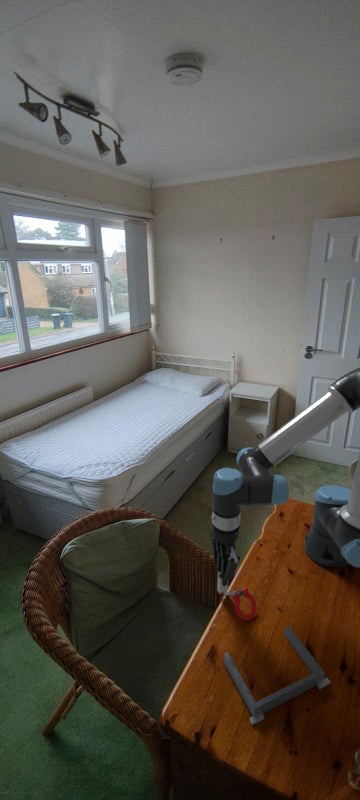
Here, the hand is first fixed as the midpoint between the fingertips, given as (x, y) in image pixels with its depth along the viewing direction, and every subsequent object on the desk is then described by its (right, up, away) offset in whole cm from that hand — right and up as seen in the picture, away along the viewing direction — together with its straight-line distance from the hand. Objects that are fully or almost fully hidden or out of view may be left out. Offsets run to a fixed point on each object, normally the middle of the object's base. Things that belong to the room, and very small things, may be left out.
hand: (222, 590), depth 110 cm
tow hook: (+5, -6, -3) cm, 9 cm away
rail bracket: (+10, -9, -20) cm, 24 cm away
